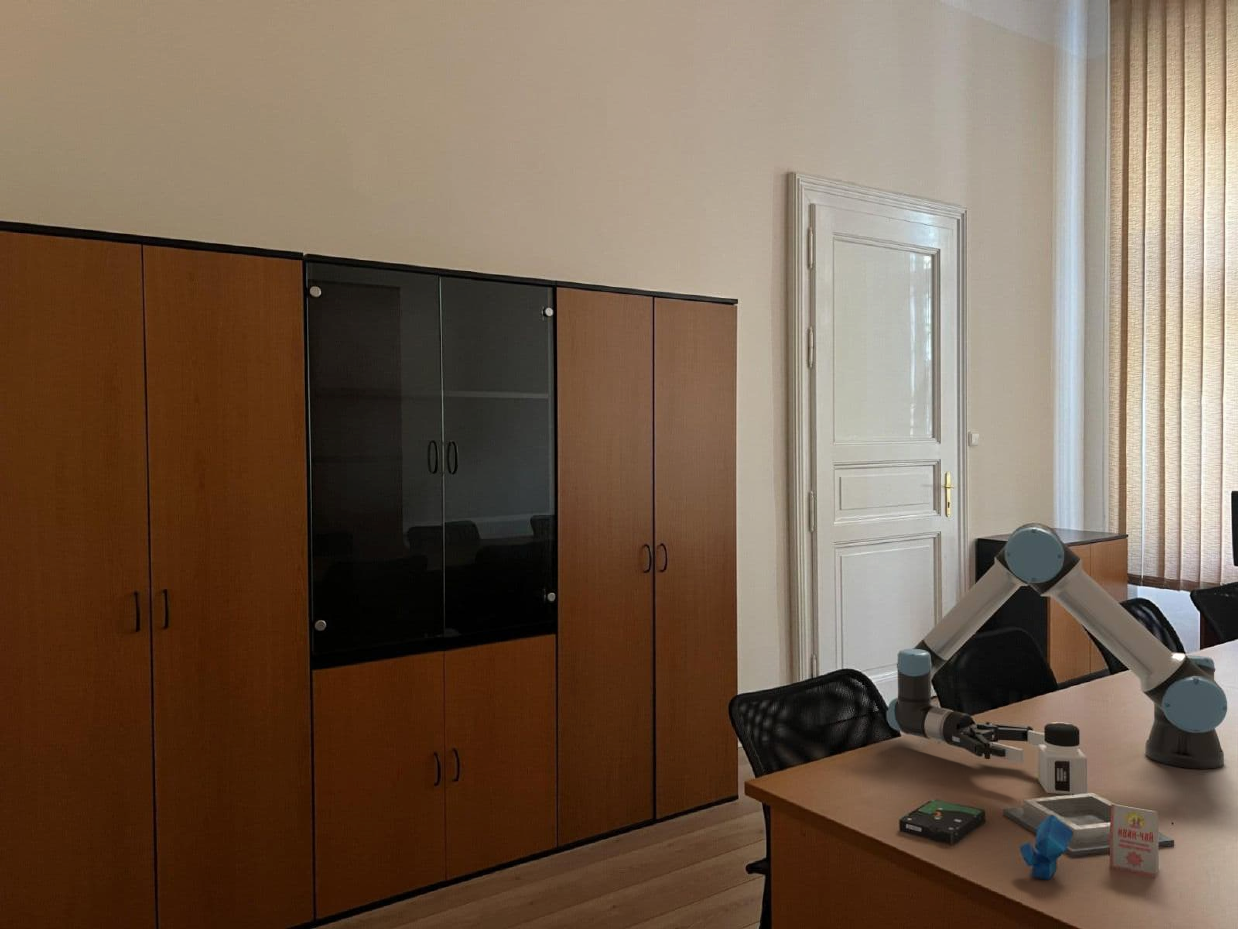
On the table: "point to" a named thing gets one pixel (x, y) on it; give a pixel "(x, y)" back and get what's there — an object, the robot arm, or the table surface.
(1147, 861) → the tea bag
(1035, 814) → the collar plate
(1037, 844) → the blue lump
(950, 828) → the disk drive
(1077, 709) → the table surface
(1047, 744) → the container
